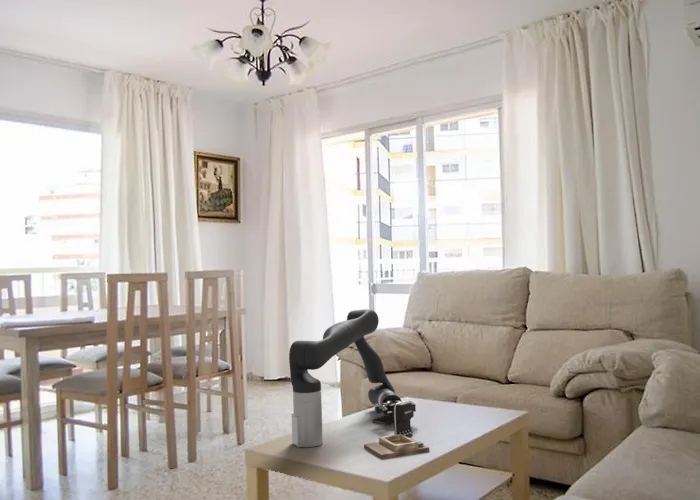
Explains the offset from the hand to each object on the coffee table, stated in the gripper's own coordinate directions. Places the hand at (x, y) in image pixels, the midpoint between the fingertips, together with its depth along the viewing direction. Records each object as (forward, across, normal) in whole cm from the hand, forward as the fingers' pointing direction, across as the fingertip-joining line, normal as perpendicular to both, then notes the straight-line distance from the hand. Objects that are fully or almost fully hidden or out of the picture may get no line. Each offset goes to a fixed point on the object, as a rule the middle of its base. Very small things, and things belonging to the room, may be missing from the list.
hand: (398, 411), depth 216 cm
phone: (-17, +1, +7) cm, 18 cm away
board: (+22, -6, +6) cm, 23 cm away
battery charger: (+8, 0, +7) cm, 11 cm away
